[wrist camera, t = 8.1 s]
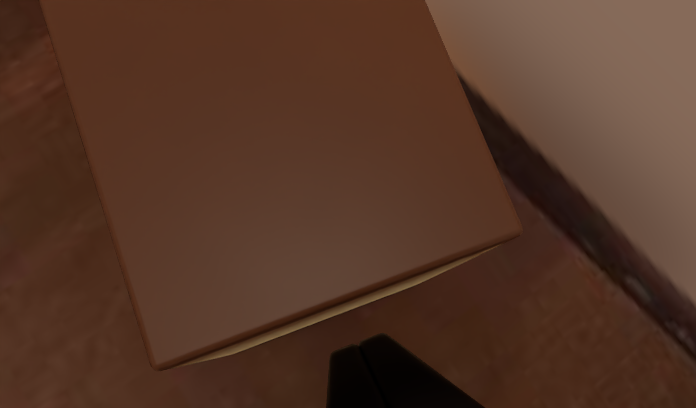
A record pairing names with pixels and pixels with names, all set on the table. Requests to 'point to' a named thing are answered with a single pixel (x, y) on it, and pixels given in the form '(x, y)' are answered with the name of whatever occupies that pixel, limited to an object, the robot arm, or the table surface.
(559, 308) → the table surface
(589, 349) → the table surface
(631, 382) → the table surface
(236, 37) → the cake slice
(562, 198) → the table surface
